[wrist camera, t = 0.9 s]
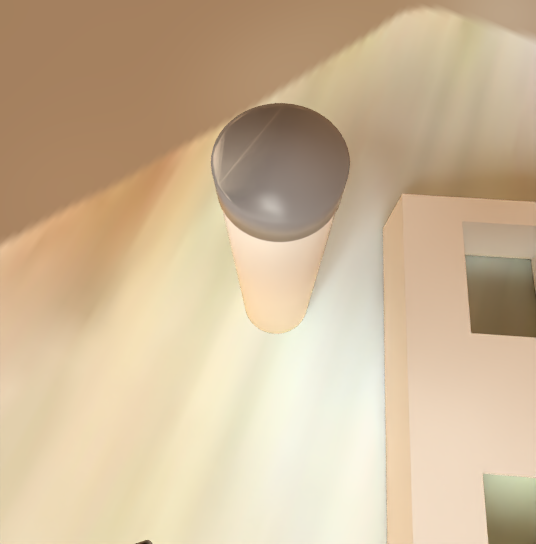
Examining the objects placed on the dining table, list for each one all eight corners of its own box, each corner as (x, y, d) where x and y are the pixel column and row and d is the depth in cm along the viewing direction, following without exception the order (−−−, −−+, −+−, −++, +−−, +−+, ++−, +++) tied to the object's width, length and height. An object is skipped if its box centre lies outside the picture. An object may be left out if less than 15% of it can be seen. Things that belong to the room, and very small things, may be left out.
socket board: (650, 653, 19) (780, 731, 14) (388, 629, 19) (427, 696, 14) (578, 241, 25) (649, 197, 20) (382, 228, 25) (408, 183, 20)
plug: (321, 306, 24) (378, 165, 11) (272, 348, 23) (273, 249, 10) (279, 260, 25) (286, 81, 12) (230, 299, 24) (183, 154, 11)
